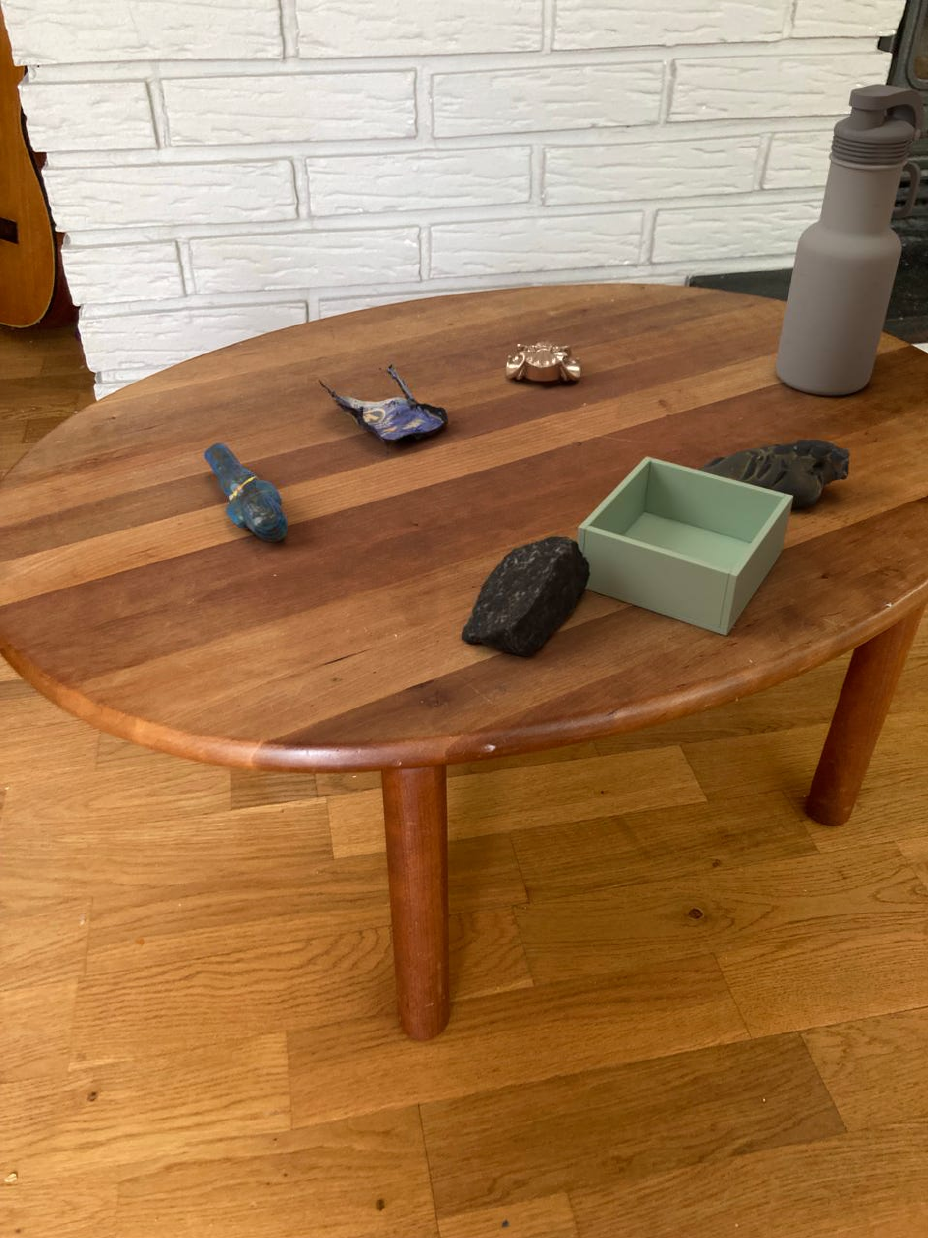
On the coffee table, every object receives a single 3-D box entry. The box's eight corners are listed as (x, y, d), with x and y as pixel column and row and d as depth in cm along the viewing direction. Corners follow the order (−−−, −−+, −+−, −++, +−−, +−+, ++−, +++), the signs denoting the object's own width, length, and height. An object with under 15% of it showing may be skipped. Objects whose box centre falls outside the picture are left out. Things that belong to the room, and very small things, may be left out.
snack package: (424, 392, 110) (315, 406, 107) (426, 338, 105) (312, 352, 102) (458, 461, 102) (342, 479, 99) (462, 407, 98) (340, 424, 95)
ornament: (580, 363, 115) (582, 331, 112) (579, 391, 109) (581, 358, 107) (508, 361, 115) (508, 329, 113) (503, 388, 110) (503, 356, 108)
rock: (449, 642, 77) (447, 578, 73) (508, 570, 84) (509, 509, 81) (535, 670, 74) (538, 605, 71) (589, 593, 82) (593, 530, 78)
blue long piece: (202, 481, 97) (261, 566, 87) (183, 451, 94) (242, 535, 85) (245, 455, 98) (309, 536, 88) (228, 424, 95) (292, 504, 85)
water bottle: (813, 350, 117) (870, 72, 99) (890, 379, 110) (964, 89, 93) (755, 375, 112) (804, 88, 94) (831, 407, 106) (899, 106, 88)
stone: (685, 472, 96) (691, 420, 93) (833, 475, 95) (844, 422, 92) (691, 512, 91) (698, 458, 88) (848, 515, 90) (860, 461, 86)
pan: (781, 553, 85) (793, 495, 82) (726, 636, 77) (737, 576, 74) (640, 511, 91) (646, 455, 87) (574, 585, 82) (578, 526, 79)
